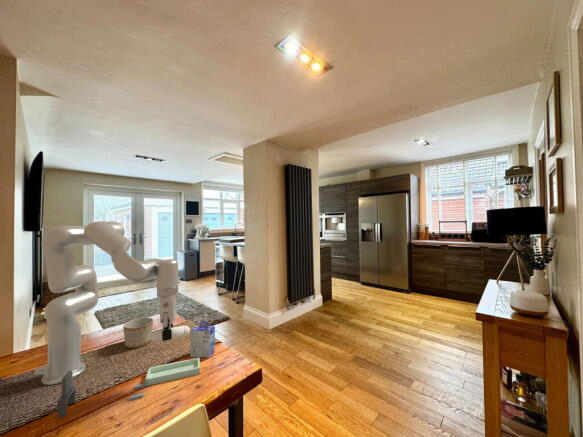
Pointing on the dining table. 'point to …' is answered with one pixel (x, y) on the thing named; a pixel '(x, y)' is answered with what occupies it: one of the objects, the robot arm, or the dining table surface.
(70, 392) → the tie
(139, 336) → the planter
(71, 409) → the dining table surface
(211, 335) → the ink cartridge box
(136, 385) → the pair of grey bars
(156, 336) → the capsule
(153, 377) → the tray
